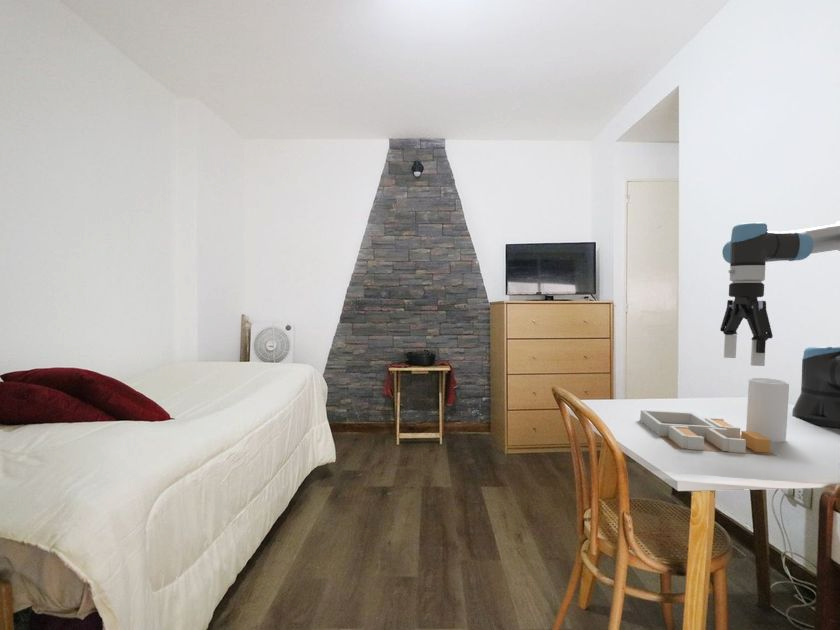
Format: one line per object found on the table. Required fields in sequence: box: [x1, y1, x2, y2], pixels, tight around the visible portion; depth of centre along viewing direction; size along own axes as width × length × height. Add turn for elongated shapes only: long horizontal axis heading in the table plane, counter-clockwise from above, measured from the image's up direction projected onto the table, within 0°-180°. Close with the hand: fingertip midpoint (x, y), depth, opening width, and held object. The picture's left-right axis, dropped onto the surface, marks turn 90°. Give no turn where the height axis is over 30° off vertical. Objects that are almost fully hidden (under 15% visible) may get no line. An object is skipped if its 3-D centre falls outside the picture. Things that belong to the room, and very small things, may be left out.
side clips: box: [669, 417, 741, 451], centre depth 112 cm, size 18×19×3 cm
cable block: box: [740, 430, 771, 452], centre depth 105 cm, size 3×6×3 cm, turn 171°
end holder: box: [639, 409, 718, 438], centre depth 119 cm, size 14×14×3 cm
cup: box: [745, 377, 790, 443], centre depth 114 cm, size 8×8×16 cm
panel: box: [645, 422, 778, 457], centre depth 114 cm, size 22×24×1 cm
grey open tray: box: [706, 428, 746, 454], centre depth 107 cm, size 4×9×3 cm, turn 171°
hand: (742, 361), depth 117 cm, fingers open, 13 cm apart
